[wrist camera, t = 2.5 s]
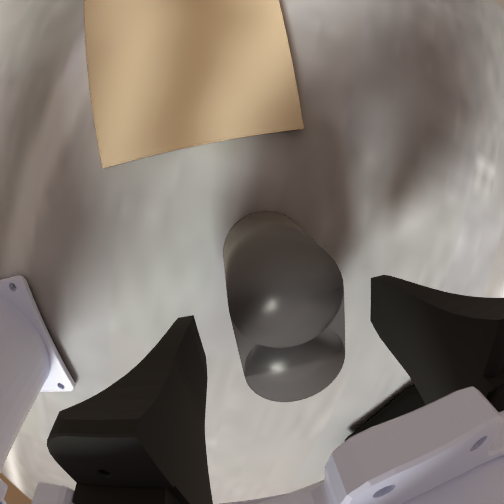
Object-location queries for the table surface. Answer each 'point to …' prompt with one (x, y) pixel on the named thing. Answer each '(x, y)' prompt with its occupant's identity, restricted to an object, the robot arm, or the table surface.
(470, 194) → the table surface
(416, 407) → the electric trimmer
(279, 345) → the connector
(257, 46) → the pad
